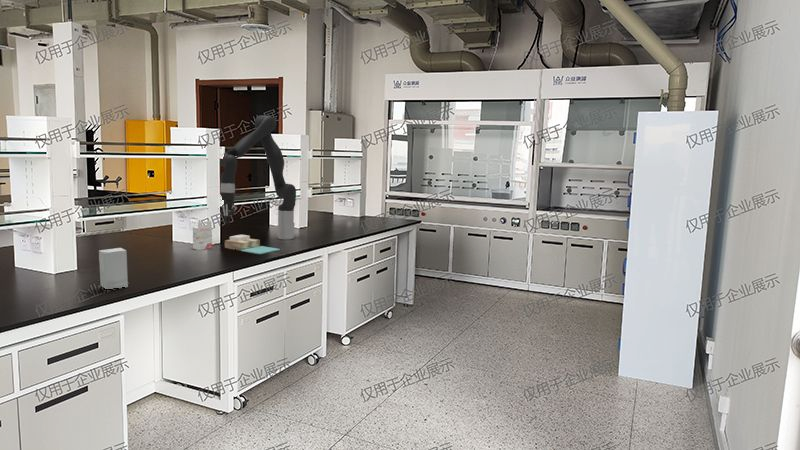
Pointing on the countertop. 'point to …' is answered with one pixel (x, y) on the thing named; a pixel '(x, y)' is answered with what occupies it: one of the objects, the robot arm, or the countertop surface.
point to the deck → (242, 244)
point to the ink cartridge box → (202, 236)
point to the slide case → (239, 237)
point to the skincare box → (113, 268)
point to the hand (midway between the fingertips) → (227, 222)
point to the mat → (260, 250)
